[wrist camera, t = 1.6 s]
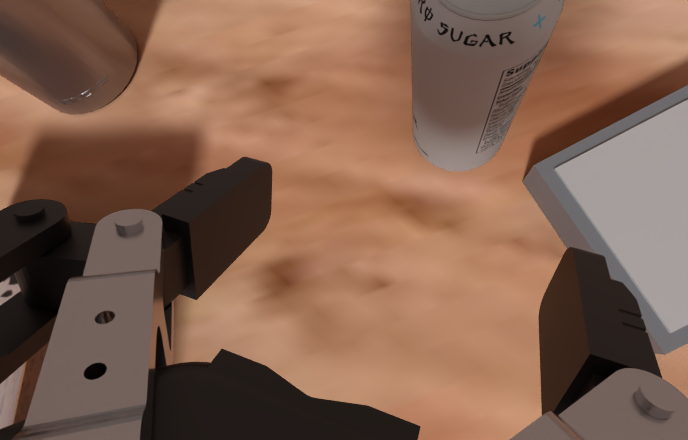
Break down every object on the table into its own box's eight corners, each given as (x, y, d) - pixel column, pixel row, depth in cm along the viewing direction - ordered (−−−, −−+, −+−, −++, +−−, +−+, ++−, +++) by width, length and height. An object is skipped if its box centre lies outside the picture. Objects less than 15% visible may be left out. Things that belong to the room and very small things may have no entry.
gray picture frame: (522, 181, 29) (535, 163, 26) (687, 95, 29) (719, 67, 25) (636, 351, 25) (667, 354, 22) (826, 256, 25) (883, 246, 22)
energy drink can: (439, 83, 32) (458, -123, 17) (517, 118, 30) (610, -77, 16) (397, 152, 31) (380, -5, 16) (475, 191, 29) (532, 56, 15)
